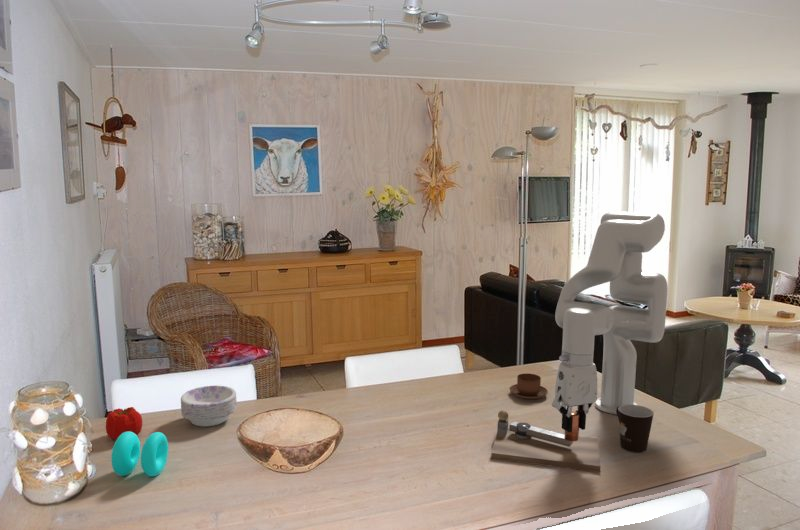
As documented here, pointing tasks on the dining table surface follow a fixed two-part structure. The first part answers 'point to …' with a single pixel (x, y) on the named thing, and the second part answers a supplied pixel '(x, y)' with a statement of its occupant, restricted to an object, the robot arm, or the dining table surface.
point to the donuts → (129, 453)
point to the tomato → (123, 422)
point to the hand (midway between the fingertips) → (573, 428)
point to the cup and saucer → (528, 387)
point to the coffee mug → (634, 427)
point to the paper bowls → (208, 405)
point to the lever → (549, 432)
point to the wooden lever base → (544, 449)
